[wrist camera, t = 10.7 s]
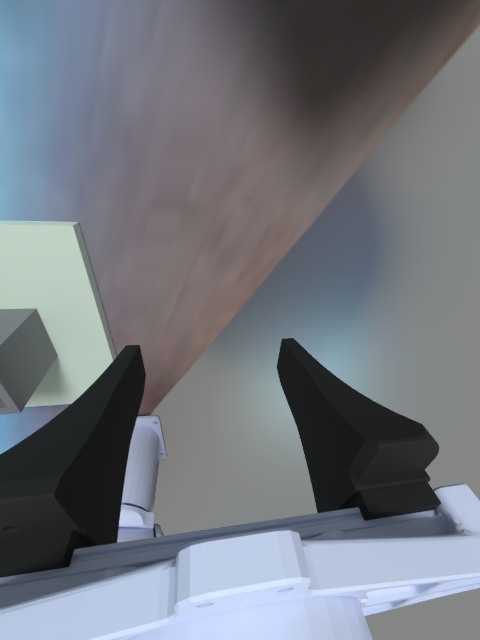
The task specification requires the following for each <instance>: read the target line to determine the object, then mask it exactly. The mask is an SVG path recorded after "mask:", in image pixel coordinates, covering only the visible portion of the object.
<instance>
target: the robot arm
mask: <svg viewBox="0 0 480 640" xmlns="http://www.w3.org/2000/svg"><path fill="white" fill-rule="evenodd" d="M277 369H278V374H279V379H280V382H281V386H282V388H283V391H284V394H285V396H286V399H287V401H288V404H289V406H290V409H291V412H292V414H293V417H294V420H295V422H296V425H297V428H298V432H299V435H300V439H301V442H302V446H303V450H304V454H305V458H306V461H307V466H308V470H309V474H310V479H311V483H312V487H313V492H314V497H315V502H316V507H317V511H318V513H316V514H309V515H303V516H296V517H289V518H283V519H276V520H269V521H262V522H255V523H249V524H241V525H235V526H228V527H221V528H215V529H208V530H201V531H194V532H187V533H181V534H174V535H167V536H164V534H163V532H162V530H161V527H160V525H159V524H154V519H155V513H154V512H152V510H153V506H154V499H155V491H156V482H157V474H158V465H159V460H165V459H166V458H167V453H166V448H165V442H164V437H163V432H162V427H161V422H160V417H159V416H157V415H150V416H138V412H139V409H140V405H141V401H142V397H143V393H144V386H145V377H146V374H145V369H144V364H143V359H142V355H141V350H140V345H129V346H125V347H124V349H123V350H122V351H121V352H120V353H119V355H118V356H117V357H116V358H115V359H114V361H113V362H112V363H111V364H110V365H109V366H108V368H107V369H106V370H105V371H104V372H103V373H102V374H101V375H100V377H99V378H98V379H97V380H96V381H95V382H94V383H93V384H92V385H91V386H90V387H89V388H88V389H87V390H86V391H85V392H84V393H83V394H82V395H81V396H80V397H79V398H77V399H76V400H75V401H74V402H73V403H72V404H71V405H70V406H68V407H67V408H66V409H65V410H64V411H62V412H61V413H60V414H59V415H57V416H56V417H55V418H53V419H52V420H51V421H49V422H48V423H47V424H46V425H44V426H43V427H42V428H40V429H39V430H37V431H36V432H34V433H33V434H32V435H30V436H29V437H27V438H26V439H24V440H23V441H21V442H20V443H18V444H17V445H15V446H14V447H12V448H10V449H9V450H7V451H6V452H4V453H2V454H1V455H0V640H373V639H372V637H371V634H370V631H369V628H368V625H367V623H366V620H365V617H364V616H367V615H371V614H375V613H379V612H383V611H386V610H390V609H394V608H398V607H402V606H406V605H410V604H414V603H418V602H422V601H426V600H429V599H433V598H438V597H442V596H446V595H450V594H454V593H459V592H462V591H467V590H472V589H476V588H480V501H479V500H478V499H477V497H476V496H475V495H474V493H473V492H472V491H471V490H470V489H469V487H468V486H467V485H466V484H464V483H462V484H454V485H447V486H441V487H438V488H436V489H434V490H432V488H431V487H430V485H429V484H428V481H430V477H429V476H428V474H427V473H426V471H425V469H426V467H427V466H428V465H429V464H430V463H431V462H432V461H433V460H434V459H435V457H436V456H437V454H438V451H439V445H438V444H437V442H436V441H435V440H434V438H433V437H432V436H431V435H430V434H429V432H428V431H427V430H426V429H425V427H424V426H423V425H422V424H420V423H418V422H416V421H413V420H411V419H409V418H407V417H404V416H402V415H400V414H397V413H395V412H393V411H391V410H389V409H388V408H386V407H383V406H382V405H380V404H378V403H376V402H374V401H372V400H371V399H369V398H367V397H366V396H364V395H362V394H361V393H359V392H357V391H356V390H354V389H353V388H351V387H350V386H348V385H347V384H346V383H344V382H343V381H341V380H340V379H339V378H337V377H336V376H335V375H333V374H332V373H331V372H330V371H328V370H327V369H326V368H325V367H323V366H322V365H321V364H320V363H319V362H318V361H317V360H316V359H315V358H313V357H312V356H311V355H310V354H309V353H308V352H307V351H306V350H305V349H304V348H303V347H302V346H301V345H300V344H299V343H298V342H296V340H294V339H293V338H288V339H282V342H281V347H280V353H279V358H278V364H277ZM137 416H138V417H137Z"/></svg>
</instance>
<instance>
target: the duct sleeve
mask: <svg viewBox="0 0 480 640" xmlns="http://www.w3.org/2000/svg"><path fill="white" fill-rule="evenodd" d="M57 356H58V355H57V353H56V350H55V348H54V346H53V344H52V342H51V339H50V337H49V335H48V333H47V331H46V328H45V326H44V324H43V322H42V320H41V317H40V315H39V313H38V311H37V309H36V308H31V309H0V414H10V413H21V411H22V410H23V408H24V407H25V405H26V404H27V402H28V401H29V399H30V398H31V396H32V395H33V393H34V392H35V390H36V389H37V387H38V385H39V384H40V382H41V381H42V379H43V378H44V376H45V375H46V373H47V372H48V370H49V369H50V367H51V366H52V364H53V363H54V361H55V360H56V358H57Z"/></svg>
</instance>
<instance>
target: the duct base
mask: <svg viewBox="0 0 480 640" xmlns="http://www.w3.org/2000/svg"><path fill="white" fill-rule="evenodd" d="M31 308H36V309H37V311H38V313H39V315H40V317H41V320H42V322H43V324H44V326H45V328H46V331H47V333H48V335H49V337H50V339H51V342H52V344H53V346H54V348H55V350H56V353H57V355H58V356H57V358H56V360H55V361H54V363H53V364H52V366H51V367H50V369H49V370H48V372H47V373H46V375H45V376H44V378H43V379H42V381H41V382H40V384H39V385H38V387H37V389H36V390H35V392H34V393H33V395H32V396H31V398H30V399H29V401H28V402H27V404H26V405H25V407H34V406H48V405H61V404H72V403H73V402H74V401H75V400H76V399H77V398H79V397H80V396H81V395H82V394H83V393H84V392H85V391H86V390H87V389H88V388H89V387H90V386H91V385H92V384H93V383H94V382H95V381H96V380H97V379H98V378H99V377H100V375H101V374H102V373H103V372H104V371H105V370H106V369H107V368H108V366H109V365H110V364H111V363H112V362H113V361H114V359H115V358H116V357H117V356H116V353H115V349H114V346H113V342H112V339H111V335H110V332H109V328H108V325H107V321H106V318H105V314H104V311H103V307H102V303H101V300H100V296H99V293H98V289H97V286H96V282H95V279H94V275H93V272H92V268H91V265H90V261H89V258H88V254H87V251H86V247H85V244H84V240H83V237H82V233H81V230H80V226H79V223H78V222H51V221H3V220H0V309H31Z"/></svg>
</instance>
